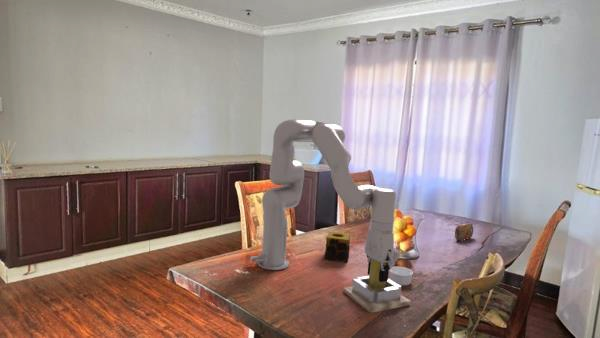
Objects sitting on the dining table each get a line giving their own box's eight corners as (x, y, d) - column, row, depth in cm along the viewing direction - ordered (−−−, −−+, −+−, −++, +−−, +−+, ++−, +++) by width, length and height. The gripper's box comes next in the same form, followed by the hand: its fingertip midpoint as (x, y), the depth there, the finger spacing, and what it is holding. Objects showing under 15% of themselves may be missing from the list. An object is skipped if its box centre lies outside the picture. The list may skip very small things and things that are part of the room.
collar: (371, 305, 125) (372, 293, 125) (350, 289, 136) (351, 278, 136) (402, 299, 131) (403, 287, 130) (379, 284, 142) (380, 273, 141)
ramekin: (408, 288, 143) (409, 277, 143) (384, 282, 148) (385, 271, 147) (414, 280, 151) (416, 270, 150) (392, 275, 155) (393, 264, 155)
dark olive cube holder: (347, 262, 166) (349, 240, 165) (324, 259, 168) (325, 237, 167) (349, 255, 176) (351, 233, 175) (327, 252, 178) (328, 230, 177)
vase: (375, 292, 129) (378, 251, 127) (363, 285, 134) (367, 245, 133) (389, 290, 132) (393, 249, 130) (378, 282, 137) (381, 243, 135)
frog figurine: (386, 258, 174) (388, 242, 173) (401, 262, 170) (403, 246, 169) (380, 261, 170) (381, 245, 169) (395, 265, 165) (396, 249, 164)
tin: (458, 242, 205) (460, 226, 204) (452, 240, 207) (454, 225, 206) (472, 238, 214) (474, 223, 213) (467, 236, 216) (469, 221, 215)
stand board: (370, 312, 123) (370, 308, 123) (343, 291, 137) (343, 287, 137) (409, 305, 130) (410, 300, 130) (380, 285, 144) (380, 281, 144)
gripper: (357, 219, 136) (354, 269, 139) (388, 233, 121) (384, 289, 123) (375, 218, 140) (371, 267, 142) (407, 232, 124) (403, 286, 127)
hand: (377, 277), depth 133 cm, fingers closed on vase, 5 cm apart
